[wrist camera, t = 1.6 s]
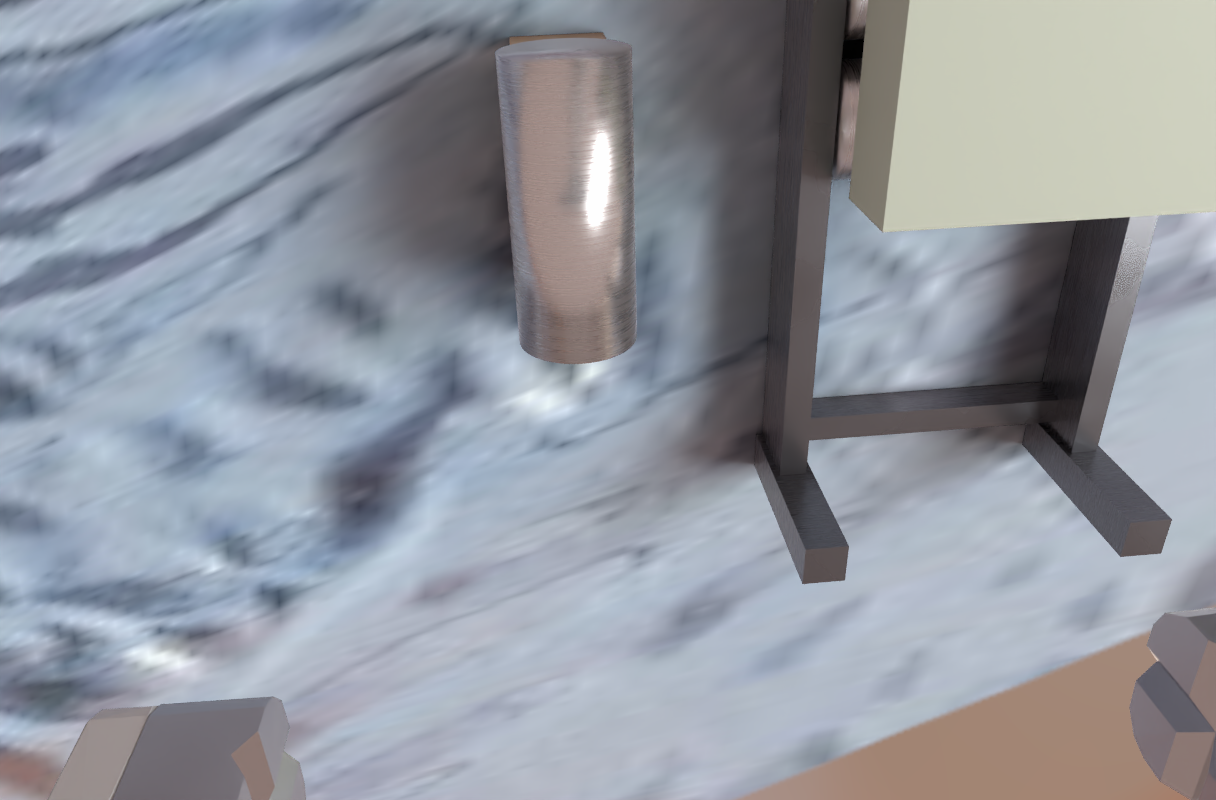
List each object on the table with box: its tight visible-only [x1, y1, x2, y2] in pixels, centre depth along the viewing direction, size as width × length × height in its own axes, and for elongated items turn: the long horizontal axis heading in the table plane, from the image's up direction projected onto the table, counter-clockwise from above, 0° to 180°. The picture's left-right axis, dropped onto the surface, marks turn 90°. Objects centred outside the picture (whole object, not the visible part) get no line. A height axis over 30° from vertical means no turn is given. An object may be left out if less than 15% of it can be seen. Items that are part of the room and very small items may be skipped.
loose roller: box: [495, 38, 637, 364], centre depth 23 cm, size 7×3×3 cm, turn 2°
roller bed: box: [754, 0, 1172, 584], centre depth 25 cm, size 21×10×6 cm, turn 2°
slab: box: [849, 0, 1216, 232], centre depth 21 cm, size 9×8×2 cm
